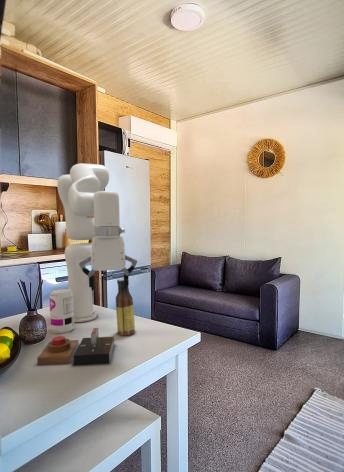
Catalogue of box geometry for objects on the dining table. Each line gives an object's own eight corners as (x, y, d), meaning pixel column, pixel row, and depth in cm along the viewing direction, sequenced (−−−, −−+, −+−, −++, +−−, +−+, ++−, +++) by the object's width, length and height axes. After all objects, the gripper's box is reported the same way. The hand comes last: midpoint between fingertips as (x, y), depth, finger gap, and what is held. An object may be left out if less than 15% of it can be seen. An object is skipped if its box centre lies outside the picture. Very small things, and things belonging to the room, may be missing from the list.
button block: (50, 347, 99) (50, 335, 99) (78, 346, 100) (78, 334, 100) (37, 365, 88) (36, 351, 87) (69, 363, 88) (69, 350, 88)
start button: (54, 341, 95) (54, 336, 95) (66, 341, 96) (66, 335, 95) (51, 346, 92) (51, 340, 92) (63, 345, 92) (63, 340, 92)
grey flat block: (94, 342, 96) (93, 327, 95) (98, 342, 96) (98, 327, 96) (91, 348, 91) (90, 332, 91) (96, 348, 91) (95, 332, 91)
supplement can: (52, 335, 110) (50, 294, 109) (49, 328, 117) (48, 290, 116) (75, 331, 114) (74, 291, 113) (72, 325, 121) (70, 287, 120)
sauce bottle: (136, 330, 114) (135, 277, 113) (132, 336, 108) (131, 280, 106) (119, 329, 115) (117, 277, 113) (114, 336, 109) (112, 280, 107)
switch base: (83, 346, 100) (82, 337, 100) (114, 345, 101) (114, 335, 100) (73, 365, 87) (73, 355, 87) (109, 363, 88) (109, 353, 87)
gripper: (136, 231, 97) (137, 284, 98) (79, 232, 95) (81, 287, 96) (136, 232, 90) (138, 289, 91) (75, 233, 87) (78, 293, 88)
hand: (109, 288), depth 93 cm, fingers open, 9 cm apart
